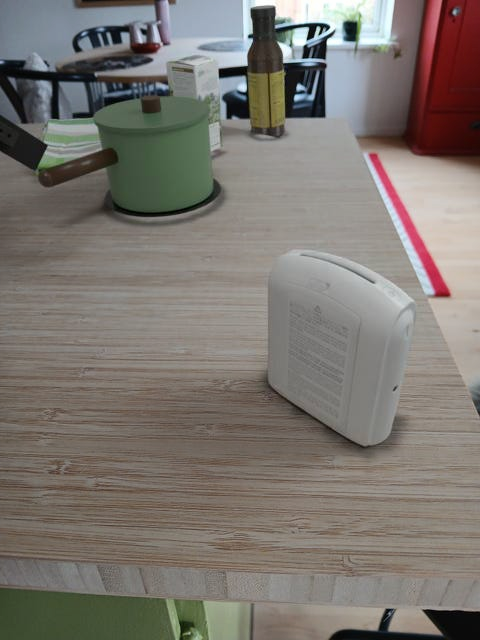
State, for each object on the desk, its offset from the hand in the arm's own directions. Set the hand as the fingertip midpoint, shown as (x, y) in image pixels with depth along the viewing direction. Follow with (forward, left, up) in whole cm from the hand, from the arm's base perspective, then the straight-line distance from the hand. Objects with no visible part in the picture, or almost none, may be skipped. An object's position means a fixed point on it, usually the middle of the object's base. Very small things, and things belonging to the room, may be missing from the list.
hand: (5, 144), depth 53 cm
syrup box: (-3, +36, -13) cm, 39 cm away
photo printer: (+39, -6, -13) cm, 42 cm away
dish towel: (-21, +29, -13) cm, 38 cm away
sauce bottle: (+2, +50, -13) cm, 52 cm away
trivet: (+3, +19, -13) cm, 23 cm away
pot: (+2, +14, -12) cm, 19 cm away
